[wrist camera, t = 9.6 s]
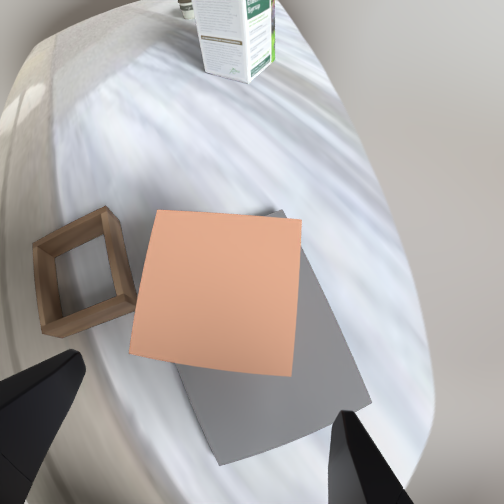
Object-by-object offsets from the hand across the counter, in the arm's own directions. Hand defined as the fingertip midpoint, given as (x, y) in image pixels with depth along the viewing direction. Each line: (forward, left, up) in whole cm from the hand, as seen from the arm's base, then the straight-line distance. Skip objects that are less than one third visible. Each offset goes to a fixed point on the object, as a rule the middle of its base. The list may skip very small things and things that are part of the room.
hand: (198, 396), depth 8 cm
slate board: (+2, -2, -9) cm, 10 cm away
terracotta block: (+3, -2, -8) cm, 9 cm away
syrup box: (+28, -11, -10) cm, 32 cm away
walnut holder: (+10, +8, -9) cm, 16 cm away
